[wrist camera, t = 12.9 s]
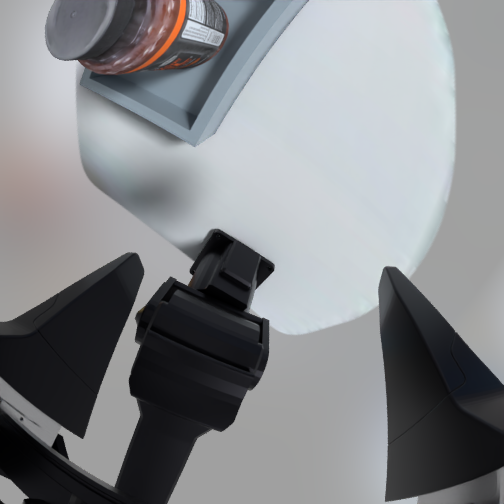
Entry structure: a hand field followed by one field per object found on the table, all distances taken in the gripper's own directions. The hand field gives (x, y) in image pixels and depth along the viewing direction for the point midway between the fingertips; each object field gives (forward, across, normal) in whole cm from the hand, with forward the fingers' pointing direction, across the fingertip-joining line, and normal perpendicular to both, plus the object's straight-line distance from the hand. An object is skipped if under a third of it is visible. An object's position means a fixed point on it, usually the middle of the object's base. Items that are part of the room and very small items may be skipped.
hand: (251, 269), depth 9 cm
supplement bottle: (+12, +6, -10) cm, 17 cm away
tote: (+13, +6, -11) cm, 18 cm away
